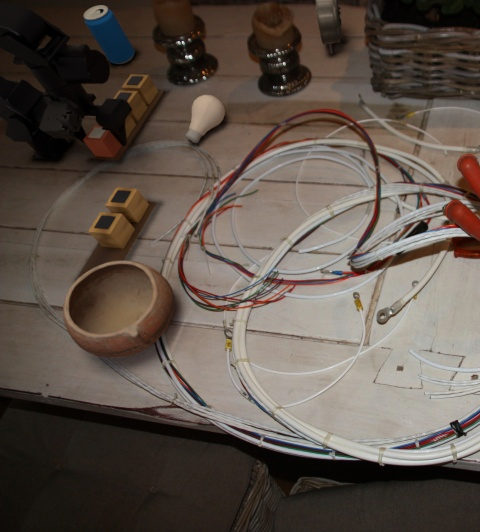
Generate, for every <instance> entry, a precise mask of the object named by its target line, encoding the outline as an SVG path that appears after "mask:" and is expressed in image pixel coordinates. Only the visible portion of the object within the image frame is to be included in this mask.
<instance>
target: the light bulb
mask: <svg viewBox="0 0 480 532" xmlns="http://www.w3.org/2000/svg"><path fill="white" fill-rule="evenodd" d="M225 115H226V110H225V106H224V104H223V103H222V101H221V100H220V99H218V98H217V97H216V96H214V95H210V94H202V95H200V96H198V97H196V99H195V100H194V101H193V103H192V106H191V121H190V124H189V126H188V127H189V129H188V130H187V132H186V134H185V138H186V139H187V141H188V142H189V143H190V144H198V143H199V142H200V140H201V139H202V137H203V136H205V135H206V133H207V132H208V131H210V130H213V129H214V128H216V127H217V126H219V125H220V124H221V123H222V122H223V120H224V117H225Z"/></svg>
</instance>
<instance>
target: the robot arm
mask: <svg viewBox="0 0 480 532" xmlns="http://www.w3.org/2000/svg"><path fill="white" fill-rule="evenodd" d="M47 37H49V38H50V40H48V42H47V43H46V44H45V46H43V47H41V45H42V44H43V42H44V41H45V39H47ZM70 39H71V37H70V35H68V34H66V33H65V32H63V31H62V29H61V28H59V27H57V26H56V25H55V24H52V23H51V22H49V20H46V19H45V18H44V17H42V16H41V15H40V14H39V13H37V12H35V11H34V10H32V9H30V8H27V7H24V6H20V5H16V4H12V3H8V2H2V3H1V2H0V49H1V50H3V51H5V52H6V53H9V54H11V55H13V56H14V58H13V60H12V63H13V64H14V65H16V66H17V65H18V66H19V65H23V66H24V65H25V66H26V67H27V68H28V70H29V71H30V72H31V74H32V75H33V76H34V78H35V79H36V80H37V81H38V83H39V84H40V85H41V87H42V88H43V89H44V90H45V92H43V91H41V90H39V89H38V88H36V87H35V86H33V85H32V84H31V83H30V82H29V81H27V80H25V79H21V80H20V81H15V80H10V79H7V78H5V77H3V75H1V74H0V118H1V120H3V121H4V122H6V123H7V124H6V128H5V133H4V135H5V136H6V137H7V138H9V139H10V140H11V141H13V142H15V143H27V144H28V145H29V146H30V148H31V149H32V150H33V151H34V153H33V155H32V156H31V159H33V160H37V161H38V160H39V161H51V162H53V161H54V162H57V161H59V160H61V158H62V156H63V155H64V154H65V152H66V151H67V150H68V148H69V147H70V146H71V144H72V143H73V142H74V139H73V138H75V139H77V140H78V141H80V142H81V143H83V144H84V145H86V143H85V142H84V141H83V139H84V138H85V137H86V135H87V133H86V131H85V129H84V127H83V125H82V123H83V119H84V118H85V117H95V122H96V123H97V125H100V126H102V127H103V128H102V130H109V131H110V132H111V133H112V135H113V136H114V137H115V138H116V139H117V141H118V142H119V143H120V144H121V145H122V146H126V144H127V138H126V128H125V120H126V118H127V117H128V115H129V114H130V112H131V111H132V108H131V106H130V105H129V103H128V102H127V100H124V99H113V98H105V100H104V101H103V103H102V104H95V103H94V102H95V101H96V99H97V97H96V95H95V93H88V92H87V90H86V89H85V88H84V87H83V85H103V84H106V83H107V82H108V81H109V78H110V74H111V68H110V64H109V60H108V58H107V56H106V55H105V53H103V52H101V51H100V50H98V49H91V48H90V46H89V45H88V44H87V43H79V44H72V45H71V44H68V42H69V41H70Z"/></svg>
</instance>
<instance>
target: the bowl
mask: <svg viewBox="0 0 480 532" xmlns="http://www.w3.org/2000/svg"><path fill="white" fill-rule="evenodd" d="M174 312H175V295H174V291H173V288H172V286H171V284H170V282H169V281H168V280H167V279H166V277H164V276H163V274H161V273H160V272H159V271H157V270H156V269H154V268H152V267H151V266H149V265H147V264H145V263H141V262H139V261H134V260H125V259H124V261H112V262H108V263H105V264H101V265H99V266H97V267H94V268H93V269H91V270H89V271H88V272H86V273H85V274H83V275H82V276H81V277H78V279H77V280H75V282H74V283H73V284H72V285H71V286H70V287H69V289H68V291H67V292H66V295H65V298H64V302H63V307H62V317H63V321H64V325H65V328H66V331H67V333H68V335H69V336H70V337H71V339H72V340H73V342H74V343H75V344H76V345H77V346H78V347H79V348H81V349H82V350H83V351H85V352H87V353H89V354H91V355H94V356H96V357H101V358H102V357H103V358H123V357H127V356H131V355H135V354H137V353H140V352H142V351H144V350H146V349H148V348H149V347H151V345H153V344H154V343H156V342H157V341H158V340H159V338H161V336H162V335H163V334H164V333H165V331H166V330H167V328H168V326H169V325H170V323H171V321H172V318H173V315H174Z"/></svg>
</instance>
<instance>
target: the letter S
mask: <svg viewBox="0 0 480 532" xmlns="http://www.w3.org/2000/svg"><path fill="white" fill-rule="evenodd" d="M102 128H103V127H102V126H100V125H99V124H94V125H93V126H92V127H91V128H90V129H89V131H88V133H86V137H85V138H84V139H83V141H84V142H85V143H86V144H85V145H86V147H87V148H88V149H89V150H90V151H91V153H94V155H95V156H100V157H115V155H116V154H117V152H118V151H119V149H120V148H121V146H122V145H121V144H120V143H119V142H118V141H117V139H116V138H115V137H114V136H113V135H112V133H111V132H110V131H109V130H102Z"/></svg>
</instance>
